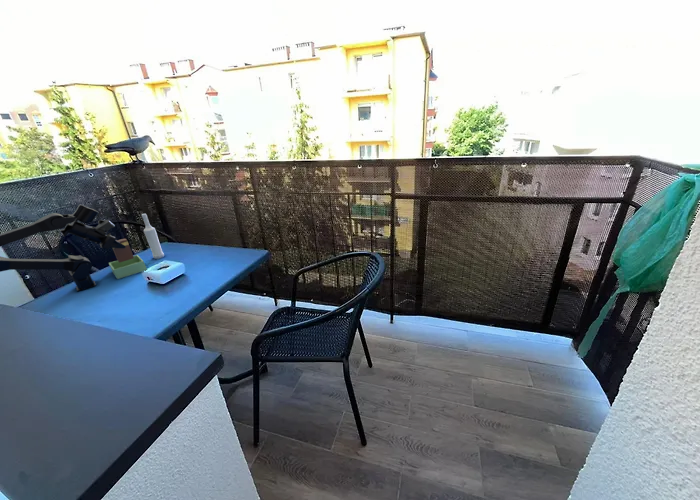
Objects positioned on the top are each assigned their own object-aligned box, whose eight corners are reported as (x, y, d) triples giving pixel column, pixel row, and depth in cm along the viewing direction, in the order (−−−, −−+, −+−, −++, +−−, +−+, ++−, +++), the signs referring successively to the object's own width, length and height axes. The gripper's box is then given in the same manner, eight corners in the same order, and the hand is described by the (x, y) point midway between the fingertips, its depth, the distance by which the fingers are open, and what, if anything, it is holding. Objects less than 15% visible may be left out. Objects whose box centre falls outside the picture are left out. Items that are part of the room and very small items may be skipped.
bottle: (160, 258, 150) (145, 215, 140) (151, 259, 150) (135, 215, 140) (166, 254, 155) (151, 212, 144) (157, 255, 155) (142, 212, 145)
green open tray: (112, 271, 138) (108, 262, 136) (140, 263, 146) (137, 254, 144) (117, 279, 130) (113, 270, 128) (147, 269, 138) (143, 261, 136)
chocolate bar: (119, 262, 131) (111, 243, 127) (117, 261, 133) (109, 242, 129) (134, 258, 135) (127, 239, 131) (132, 256, 137) (125, 238, 133)
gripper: (100, 219, 116) (140, 236, 128) (91, 213, 127) (128, 228, 139) (84, 242, 114) (126, 256, 126) (76, 233, 125) (115, 247, 137)
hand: (124, 246), depth 132 cm, fingers closed on chocolate bar, 3 cm apart
